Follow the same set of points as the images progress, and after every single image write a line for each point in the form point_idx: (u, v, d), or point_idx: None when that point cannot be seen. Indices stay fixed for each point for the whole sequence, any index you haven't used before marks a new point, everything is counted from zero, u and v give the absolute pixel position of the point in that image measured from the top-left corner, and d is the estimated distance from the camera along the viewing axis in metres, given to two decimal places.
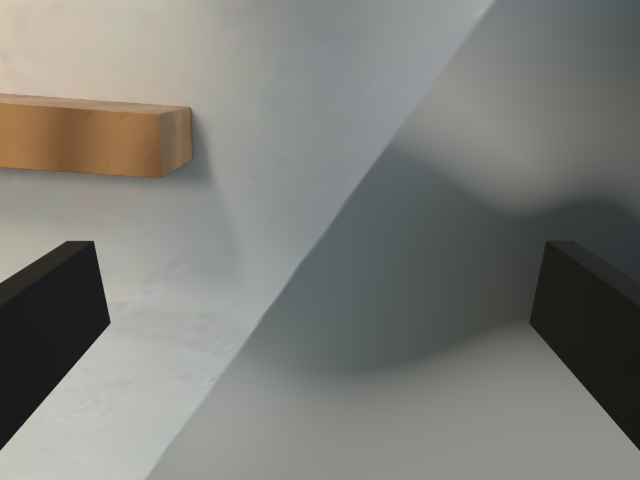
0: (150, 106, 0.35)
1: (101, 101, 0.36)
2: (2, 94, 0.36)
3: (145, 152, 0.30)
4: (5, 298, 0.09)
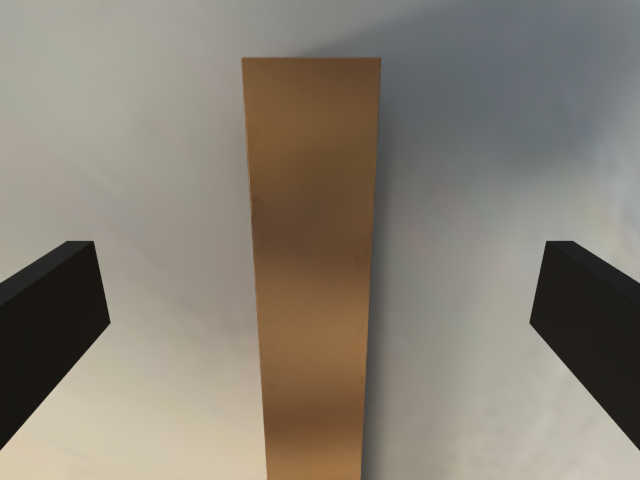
0: None
1: None
2: None
3: (324, 91, 0.14)
4: (5, 298, 0.09)
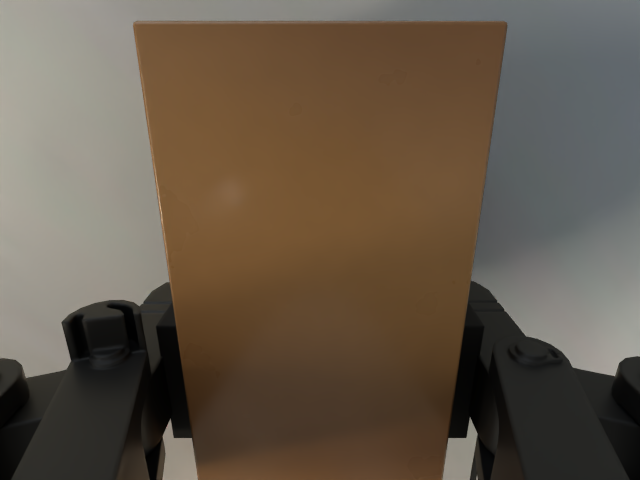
0: None
1: None
2: None
3: (354, 110, 0.05)
4: None
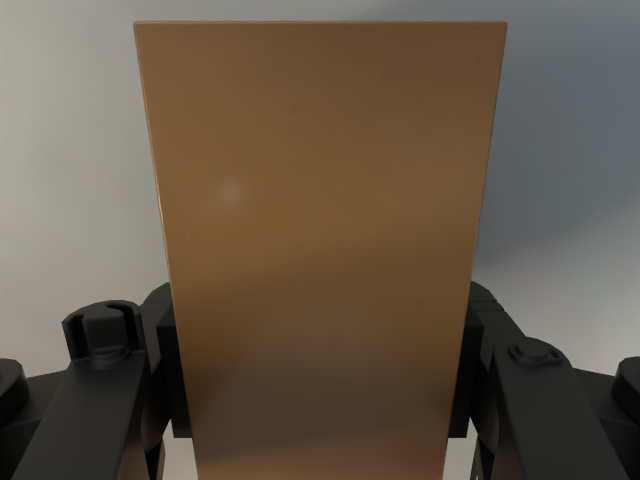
0: None
1: None
2: None
3: (353, 111, 0.05)
4: None
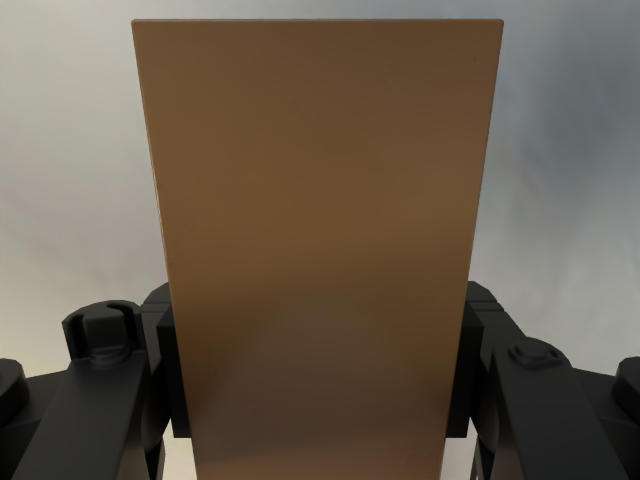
0: None
1: None
2: None
3: (350, 107, 0.05)
4: None
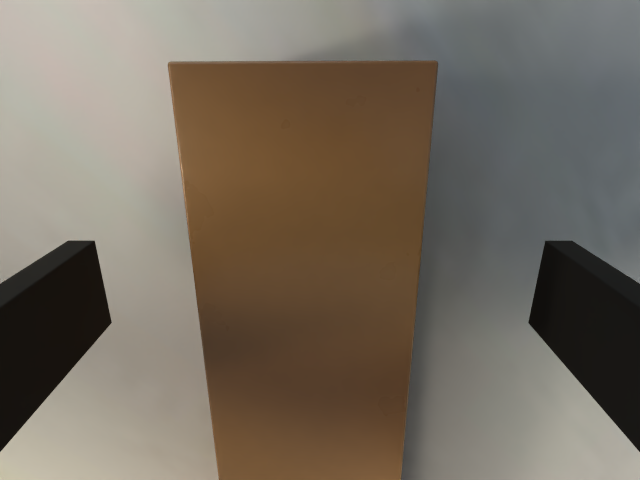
0: None
1: None
2: None
3: (328, 124, 0.07)
4: (7, 298, 0.09)
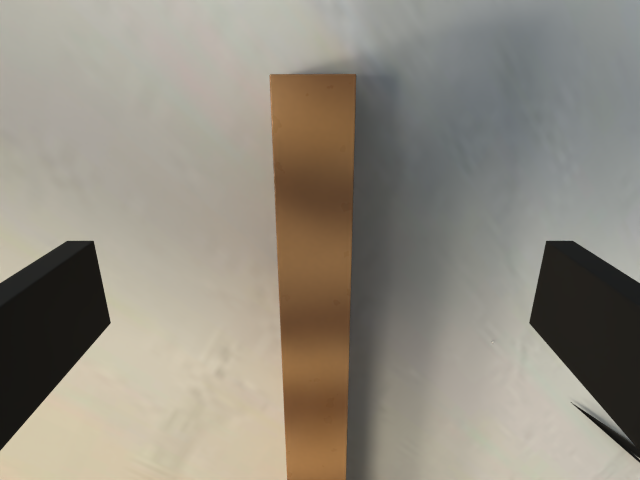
0: None
1: None
2: None
3: (321, 95, 0.22)
4: (5, 298, 0.09)
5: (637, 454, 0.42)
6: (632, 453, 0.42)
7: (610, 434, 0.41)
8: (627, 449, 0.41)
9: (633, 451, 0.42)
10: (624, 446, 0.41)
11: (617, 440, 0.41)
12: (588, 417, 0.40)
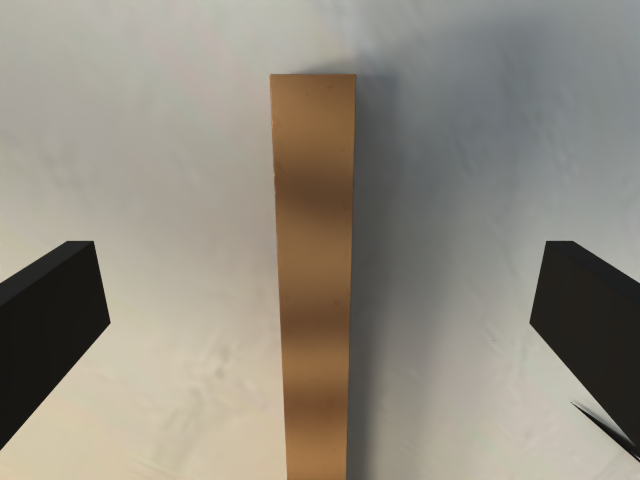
0: None
1: None
2: None
3: (321, 94, 0.22)
4: (5, 298, 0.09)
5: (637, 454, 0.42)
6: (632, 453, 0.42)
7: (610, 434, 0.41)
8: (627, 449, 0.41)
9: (633, 451, 0.42)
10: (624, 446, 0.41)
11: (617, 440, 0.41)
12: (588, 417, 0.40)
